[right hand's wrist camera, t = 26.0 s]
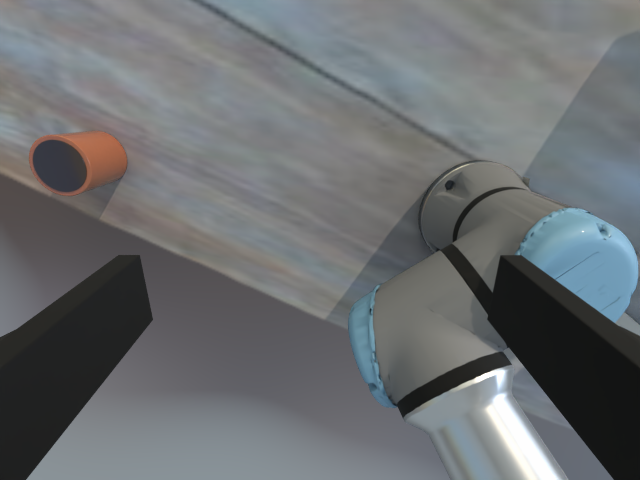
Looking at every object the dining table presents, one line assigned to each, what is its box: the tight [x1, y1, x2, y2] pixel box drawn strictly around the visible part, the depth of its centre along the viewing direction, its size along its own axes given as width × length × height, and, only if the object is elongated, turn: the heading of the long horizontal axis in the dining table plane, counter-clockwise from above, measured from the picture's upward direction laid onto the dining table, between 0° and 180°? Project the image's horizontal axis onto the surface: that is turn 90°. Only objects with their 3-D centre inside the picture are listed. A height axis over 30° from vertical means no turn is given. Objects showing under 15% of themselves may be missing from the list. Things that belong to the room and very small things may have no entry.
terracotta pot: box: [29, 131, 127, 196], centre depth 43 cm, size 7×7×8 cm
